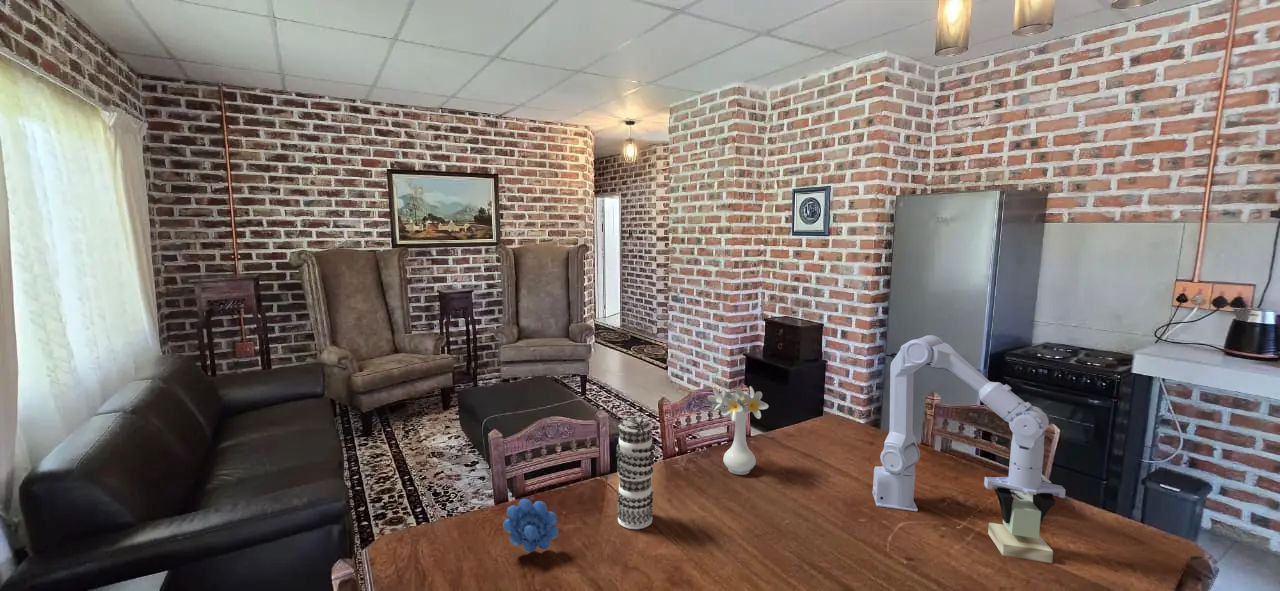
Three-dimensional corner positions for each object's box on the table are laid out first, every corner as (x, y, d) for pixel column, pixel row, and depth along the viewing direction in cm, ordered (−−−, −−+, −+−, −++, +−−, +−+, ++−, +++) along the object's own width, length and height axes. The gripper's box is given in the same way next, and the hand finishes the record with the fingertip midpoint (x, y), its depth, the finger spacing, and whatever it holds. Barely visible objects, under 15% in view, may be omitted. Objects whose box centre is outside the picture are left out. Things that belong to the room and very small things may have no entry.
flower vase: (718, 455, 164) (720, 377, 161) (775, 471, 153) (777, 387, 151) (697, 470, 153) (699, 387, 151) (757, 488, 143) (759, 398, 140)
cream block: (1002, 557, 113) (1003, 544, 113) (987, 534, 121) (988, 522, 121) (1051, 564, 110) (1053, 551, 110) (1033, 541, 119) (1034, 528, 119)
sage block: (1011, 534, 114) (1014, 508, 113) (1002, 522, 118) (1004, 497, 118) (1038, 538, 112) (1041, 511, 112) (1028, 526, 117) (1030, 500, 116)
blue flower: (502, 566, 108) (500, 511, 107) (504, 547, 115) (503, 495, 113) (559, 560, 110) (558, 506, 109) (558, 542, 117) (557, 490, 116)
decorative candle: (659, 513, 129) (660, 415, 127) (647, 533, 121) (648, 428, 118) (624, 507, 132) (624, 410, 130) (610, 525, 124) (610, 423, 121)
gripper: (994, 467, 112) (989, 527, 113) (1075, 475, 108) (1068, 538, 109) (982, 454, 119) (978, 511, 120) (1058, 461, 115) (1052, 520, 116)
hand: (1020, 523), depth 115 cm, fingers closed on sage block, 5 cm apart
